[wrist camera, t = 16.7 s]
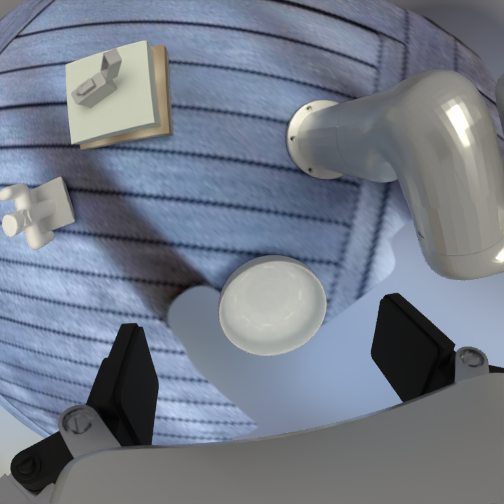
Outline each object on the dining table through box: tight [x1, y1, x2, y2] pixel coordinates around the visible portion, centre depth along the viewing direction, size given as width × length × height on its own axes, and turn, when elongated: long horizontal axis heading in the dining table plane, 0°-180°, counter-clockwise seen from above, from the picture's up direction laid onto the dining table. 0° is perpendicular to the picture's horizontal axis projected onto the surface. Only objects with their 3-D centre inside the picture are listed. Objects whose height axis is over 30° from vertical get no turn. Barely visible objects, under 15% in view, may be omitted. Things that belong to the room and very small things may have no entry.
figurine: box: [0, 177, 75, 250], centre depth 34 cm, size 7×9×15 cm
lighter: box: [71, 48, 122, 108], centre depth 25 cm, size 7×2×8 cm, turn 118°
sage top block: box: [66, 40, 161, 144], centre depth 31 cm, size 11×11×5 cm
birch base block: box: [80, 45, 173, 150], centre depth 36 cm, size 13×13×5 cm
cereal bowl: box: [218, 255, 327, 356], centre depth 48 cm, size 17×17×7 cm
